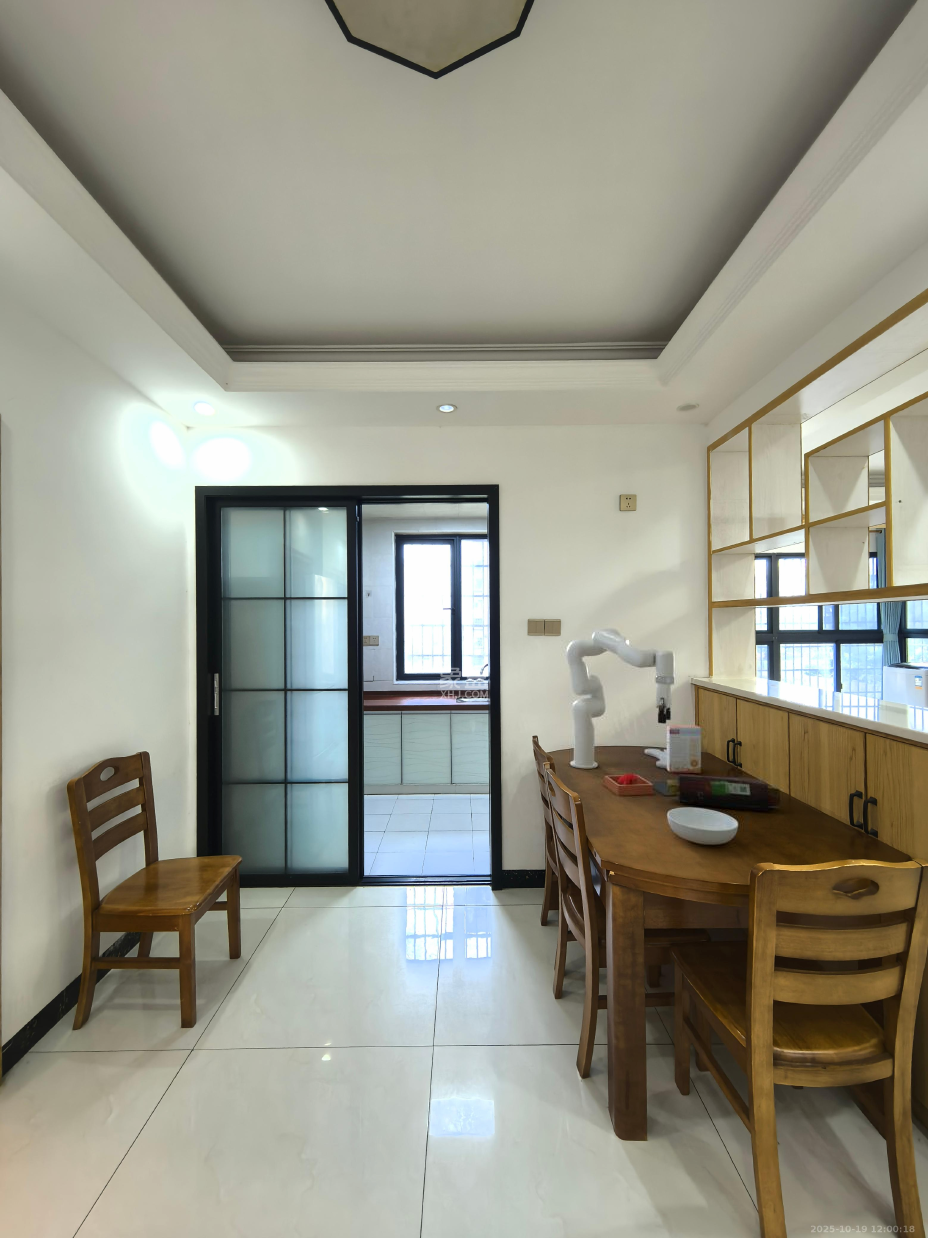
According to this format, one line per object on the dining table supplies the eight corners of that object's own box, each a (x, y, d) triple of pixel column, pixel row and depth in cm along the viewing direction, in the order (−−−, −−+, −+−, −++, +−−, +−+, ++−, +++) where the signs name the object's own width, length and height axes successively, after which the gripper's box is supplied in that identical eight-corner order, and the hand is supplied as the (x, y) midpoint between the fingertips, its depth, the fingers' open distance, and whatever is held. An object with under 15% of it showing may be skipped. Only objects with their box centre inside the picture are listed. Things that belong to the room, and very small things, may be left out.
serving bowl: (702, 857, 174) (702, 833, 174) (653, 832, 193) (653, 811, 193) (753, 846, 182) (753, 824, 182) (701, 824, 201) (701, 804, 201)
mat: (645, 783, 250) (645, 782, 250) (676, 782, 252) (676, 781, 252) (665, 796, 232) (665, 795, 232) (698, 795, 234) (698, 794, 234)
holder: (658, 769, 274) (659, 758, 274) (642, 752, 308) (643, 742, 308) (701, 770, 272) (701, 759, 272) (680, 753, 306) (680, 743, 306)
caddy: (604, 785, 247) (604, 775, 247) (637, 784, 249) (637, 774, 249) (618, 795, 232) (618, 785, 232) (653, 794, 234) (653, 784, 234)
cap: (620, 790, 238) (620, 775, 238) (616, 786, 244) (616, 771, 244) (640, 791, 238) (640, 776, 238) (636, 786, 244) (636, 772, 244)
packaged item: (668, 804, 222) (668, 778, 222) (665, 797, 231) (666, 771, 231) (782, 814, 212) (783, 786, 212) (775, 805, 222) (775, 779, 222)
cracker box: (697, 770, 272) (697, 725, 272) (701, 774, 266) (701, 727, 266) (665, 769, 273) (666, 724, 273) (669, 772, 267) (669, 726, 267)
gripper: (659, 678, 255) (659, 717, 255) (651, 681, 240) (650, 723, 240) (677, 679, 251) (677, 719, 252) (670, 683, 236) (669, 725, 236)
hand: (664, 721), depth 246 cm, fingers open, 9 cm apart
